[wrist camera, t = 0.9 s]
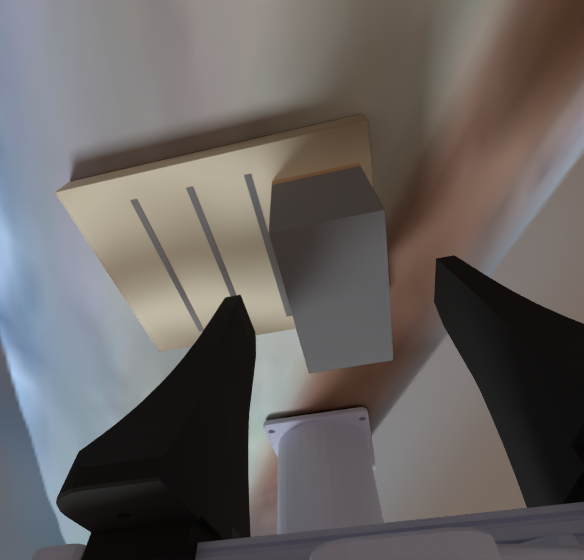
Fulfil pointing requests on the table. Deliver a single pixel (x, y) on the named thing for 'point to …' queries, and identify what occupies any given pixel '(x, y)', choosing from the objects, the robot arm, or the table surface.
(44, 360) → the table surface
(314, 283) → the block
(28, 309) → the table surface
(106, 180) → the plank
